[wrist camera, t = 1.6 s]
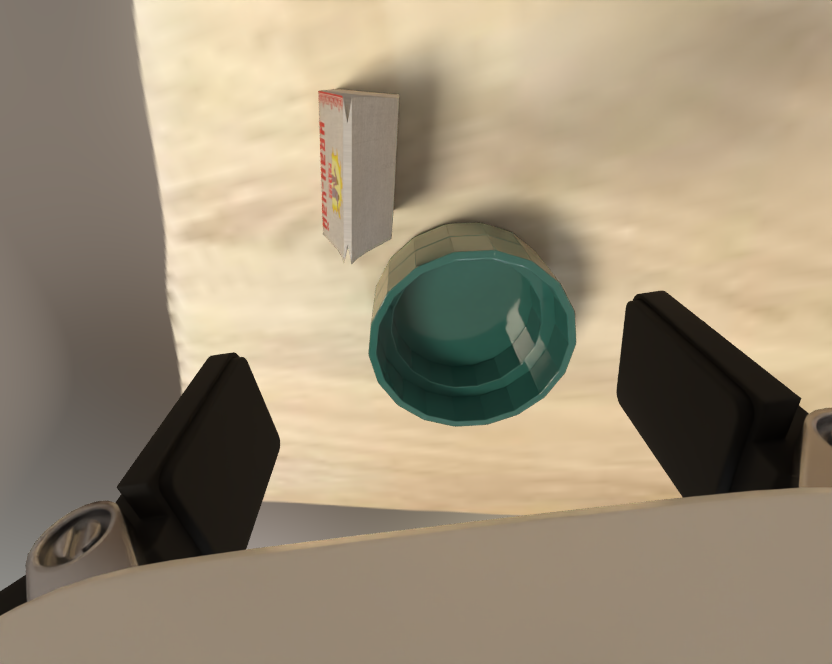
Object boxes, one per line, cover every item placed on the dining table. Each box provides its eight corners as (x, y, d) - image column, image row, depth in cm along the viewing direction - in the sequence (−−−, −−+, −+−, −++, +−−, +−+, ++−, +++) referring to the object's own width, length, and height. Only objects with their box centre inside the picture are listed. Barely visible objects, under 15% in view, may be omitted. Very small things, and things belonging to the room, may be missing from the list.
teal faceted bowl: (343, 264, 30) (330, 301, 25) (522, 189, 28) (549, 213, 23) (414, 395, 36) (416, 448, 31) (565, 343, 34) (594, 390, 29)
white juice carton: (399, 94, 25) (397, 101, 16) (393, 210, 28) (389, 266, 20) (335, 89, 25) (299, 92, 16) (337, 206, 28) (308, 261, 19)
